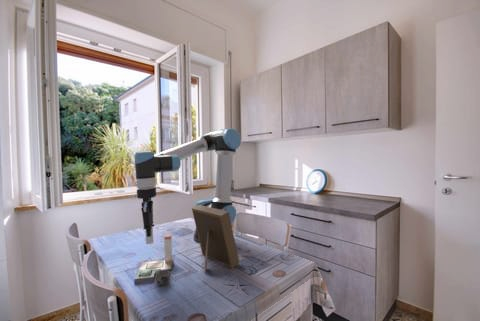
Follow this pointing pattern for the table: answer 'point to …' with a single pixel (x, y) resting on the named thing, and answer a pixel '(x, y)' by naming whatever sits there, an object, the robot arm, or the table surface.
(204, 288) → the table surface
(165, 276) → the stone
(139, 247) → the table surface
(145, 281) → the button housing
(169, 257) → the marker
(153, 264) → the cream rectangular board
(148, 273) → the button
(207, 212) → the photo frame
